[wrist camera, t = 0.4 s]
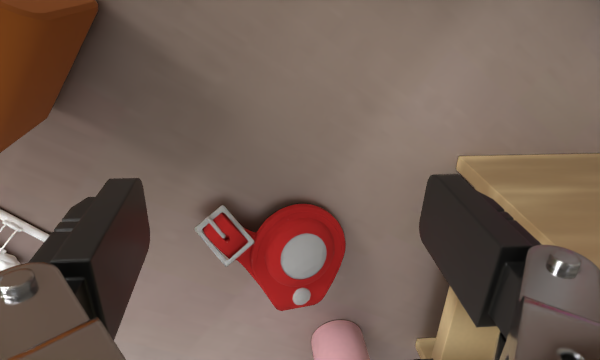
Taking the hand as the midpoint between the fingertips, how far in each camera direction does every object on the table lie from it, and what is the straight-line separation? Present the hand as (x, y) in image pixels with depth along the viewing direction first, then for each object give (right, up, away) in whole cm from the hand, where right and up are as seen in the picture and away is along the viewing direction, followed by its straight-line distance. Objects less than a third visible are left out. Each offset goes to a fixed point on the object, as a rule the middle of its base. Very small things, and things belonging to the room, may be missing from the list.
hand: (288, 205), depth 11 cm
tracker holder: (-2, -4, +23) cm, 23 cm away
